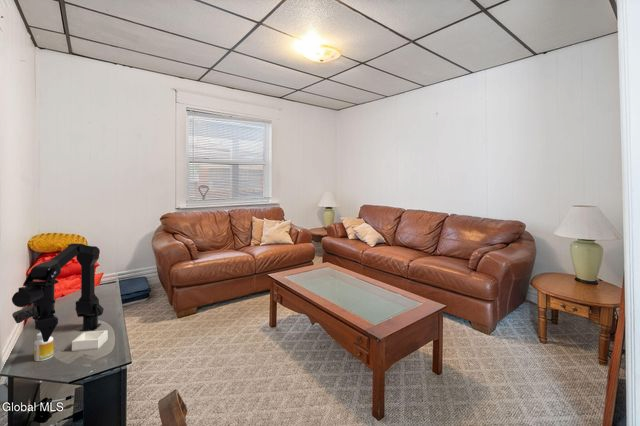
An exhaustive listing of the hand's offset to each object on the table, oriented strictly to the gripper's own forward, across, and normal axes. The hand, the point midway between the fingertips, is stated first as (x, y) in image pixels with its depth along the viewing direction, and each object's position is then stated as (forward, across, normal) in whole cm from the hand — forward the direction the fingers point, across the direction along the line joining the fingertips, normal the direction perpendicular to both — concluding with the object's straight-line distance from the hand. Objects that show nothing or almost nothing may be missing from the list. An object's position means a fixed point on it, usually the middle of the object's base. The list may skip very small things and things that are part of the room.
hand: (44, 337), depth 113 cm
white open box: (+8, 0, +14) cm, 16 cm away
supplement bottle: (+8, 0, 0) cm, 8 cm away
